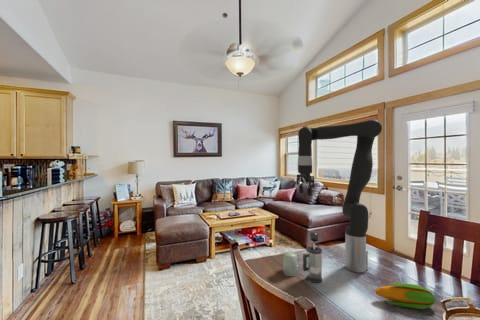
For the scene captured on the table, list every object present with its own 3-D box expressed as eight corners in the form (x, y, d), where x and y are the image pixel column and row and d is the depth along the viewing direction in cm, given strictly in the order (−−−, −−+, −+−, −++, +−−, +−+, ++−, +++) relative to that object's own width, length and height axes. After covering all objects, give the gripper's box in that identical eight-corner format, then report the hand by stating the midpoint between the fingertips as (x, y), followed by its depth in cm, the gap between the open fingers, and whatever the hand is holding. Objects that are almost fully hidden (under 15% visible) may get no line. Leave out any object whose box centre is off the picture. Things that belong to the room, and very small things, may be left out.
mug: (291, 267, 112) (291, 249, 112) (299, 275, 105) (299, 256, 105) (279, 269, 111) (279, 251, 111) (287, 277, 103) (287, 258, 103)
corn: (441, 292, 78) (378, 285, 83) (442, 315, 78) (378, 306, 82) (428, 282, 85) (371, 276, 90) (429, 303, 85) (371, 296, 89)
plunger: (315, 260, 103) (315, 231, 103) (320, 264, 100) (319, 234, 100) (308, 261, 103) (308, 232, 102) (312, 265, 99) (312, 234, 99)
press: (316, 274, 105) (316, 245, 105) (325, 282, 99) (325, 251, 99) (300, 277, 103) (300, 247, 103) (307, 285, 97) (307, 253, 97)
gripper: (318, 164, 114) (318, 196, 114) (304, 164, 128) (304, 192, 128) (305, 164, 112) (305, 196, 112) (292, 164, 126) (292, 192, 126)
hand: (305, 194), depth 120 cm, fingers open, 8 cm apart
